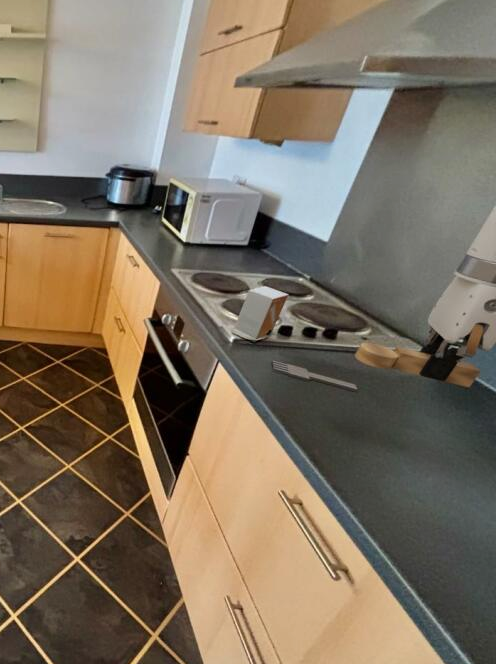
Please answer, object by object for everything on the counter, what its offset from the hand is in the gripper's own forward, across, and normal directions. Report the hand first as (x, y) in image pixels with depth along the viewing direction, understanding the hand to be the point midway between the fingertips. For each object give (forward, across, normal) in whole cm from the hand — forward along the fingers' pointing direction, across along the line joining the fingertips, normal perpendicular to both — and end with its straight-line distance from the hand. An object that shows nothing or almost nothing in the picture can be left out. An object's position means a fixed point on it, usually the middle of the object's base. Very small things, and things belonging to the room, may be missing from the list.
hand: (428, 372), depth 71 cm
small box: (+15, +34, +21) cm, 43 cm away
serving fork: (+15, +18, +9) cm, 25 cm away
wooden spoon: (0, 0, +2) cm, 3 cm away
